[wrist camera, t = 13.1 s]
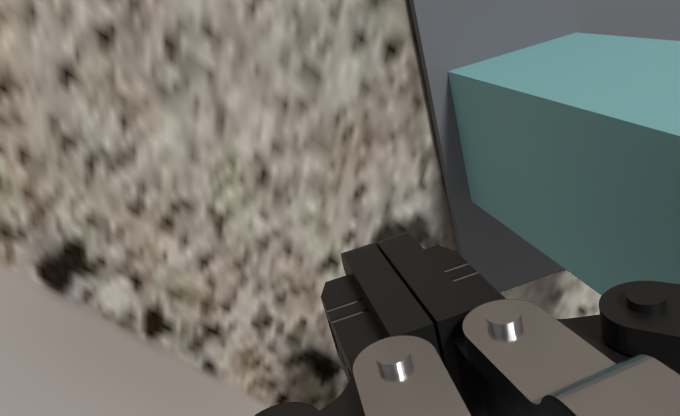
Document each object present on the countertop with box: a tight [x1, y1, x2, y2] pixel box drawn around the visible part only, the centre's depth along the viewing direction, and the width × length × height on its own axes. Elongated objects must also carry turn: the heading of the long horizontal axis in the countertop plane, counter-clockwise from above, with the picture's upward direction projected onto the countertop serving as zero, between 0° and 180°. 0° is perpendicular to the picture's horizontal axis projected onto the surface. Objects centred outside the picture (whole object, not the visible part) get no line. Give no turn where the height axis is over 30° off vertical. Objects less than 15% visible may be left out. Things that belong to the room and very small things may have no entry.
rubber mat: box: [409, 0, 680, 292], centre depth 21 cm, size 18×12×1 cm, turn 104°
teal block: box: [448, 33, 680, 295], centre depth 15 cm, size 4×4×11 cm
